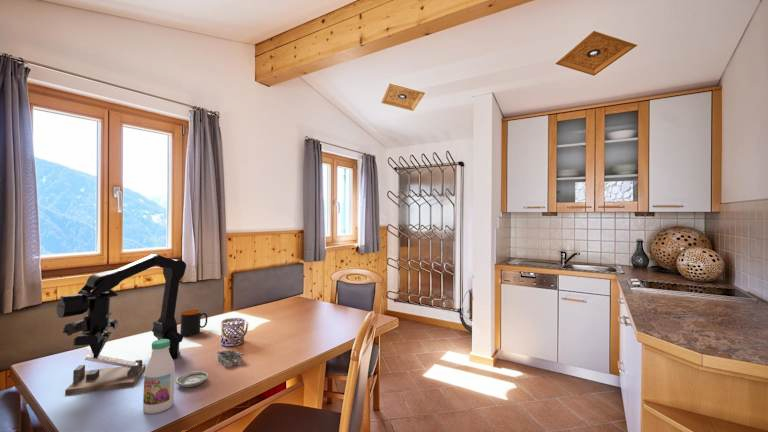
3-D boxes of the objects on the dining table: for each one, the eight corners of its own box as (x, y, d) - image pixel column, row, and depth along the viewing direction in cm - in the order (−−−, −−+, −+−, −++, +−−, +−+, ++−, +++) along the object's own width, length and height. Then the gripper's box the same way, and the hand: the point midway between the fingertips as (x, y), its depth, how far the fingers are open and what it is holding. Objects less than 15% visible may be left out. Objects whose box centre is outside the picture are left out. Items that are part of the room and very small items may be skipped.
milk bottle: (152, 400, 105) (155, 336, 105) (178, 400, 105) (181, 336, 105) (136, 414, 97) (139, 345, 97) (164, 414, 98) (167, 346, 98)
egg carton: (243, 364, 132) (244, 354, 132) (223, 369, 127) (224, 359, 127) (235, 355, 140) (235, 345, 140) (215, 360, 135) (216, 350, 135)
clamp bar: (139, 366, 121) (141, 362, 121) (136, 369, 118) (138, 365, 118) (88, 356, 115) (90, 352, 115) (84, 360, 112) (86, 356, 113)
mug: (210, 331, 167) (211, 311, 167) (184, 338, 157) (185, 316, 157) (203, 328, 172) (203, 307, 172) (177, 333, 162) (178, 312, 162)
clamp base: (145, 368, 126) (146, 353, 126) (133, 385, 113) (133, 369, 113) (85, 374, 119) (86, 359, 119) (65, 394, 106) (65, 377, 106)
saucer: (173, 393, 109) (173, 386, 110) (178, 379, 118) (178, 373, 118) (206, 388, 113) (206, 381, 113) (208, 375, 122) (209, 369, 122)
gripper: (82, 305, 121) (79, 348, 121) (53, 320, 103) (50, 371, 103) (119, 303, 125) (117, 345, 125) (98, 318, 107) (95, 367, 107)
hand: (96, 356), depth 115 cm, fingers closed, pressing on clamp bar
